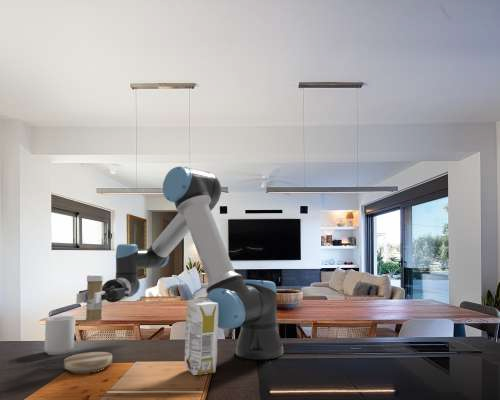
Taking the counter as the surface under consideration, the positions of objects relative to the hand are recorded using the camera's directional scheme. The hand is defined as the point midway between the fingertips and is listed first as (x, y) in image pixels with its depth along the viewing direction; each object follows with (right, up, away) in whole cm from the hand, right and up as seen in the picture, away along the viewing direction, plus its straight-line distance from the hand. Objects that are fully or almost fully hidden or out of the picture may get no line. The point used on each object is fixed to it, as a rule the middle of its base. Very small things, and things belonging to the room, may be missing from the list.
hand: (86, 298), depth 116 cm
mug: (-17, -23, +22) cm, 36 cm away
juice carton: (+33, -19, -4) cm, 38 cm away
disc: (0, -20, +1) cm, 20 cm away
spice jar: (0, -8, +5) cm, 9 cm away
